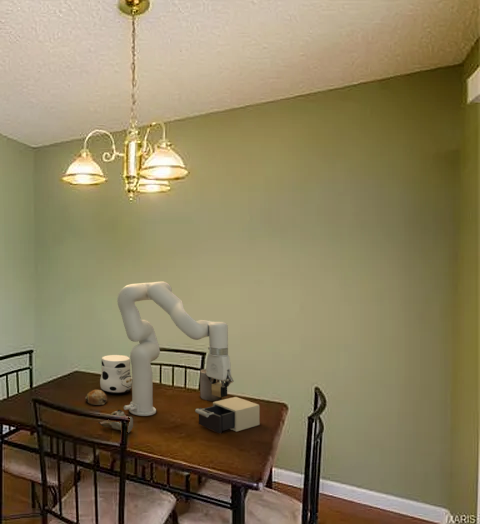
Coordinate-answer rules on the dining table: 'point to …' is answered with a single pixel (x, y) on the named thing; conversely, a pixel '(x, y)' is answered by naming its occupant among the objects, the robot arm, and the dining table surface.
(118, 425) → the ceramic sculpture
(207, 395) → the pillar candle
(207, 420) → the drawer
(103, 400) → the bread roll
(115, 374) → the milk container
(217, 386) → the block
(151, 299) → the robot arm
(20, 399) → the dining table surface
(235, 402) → the cabinet
